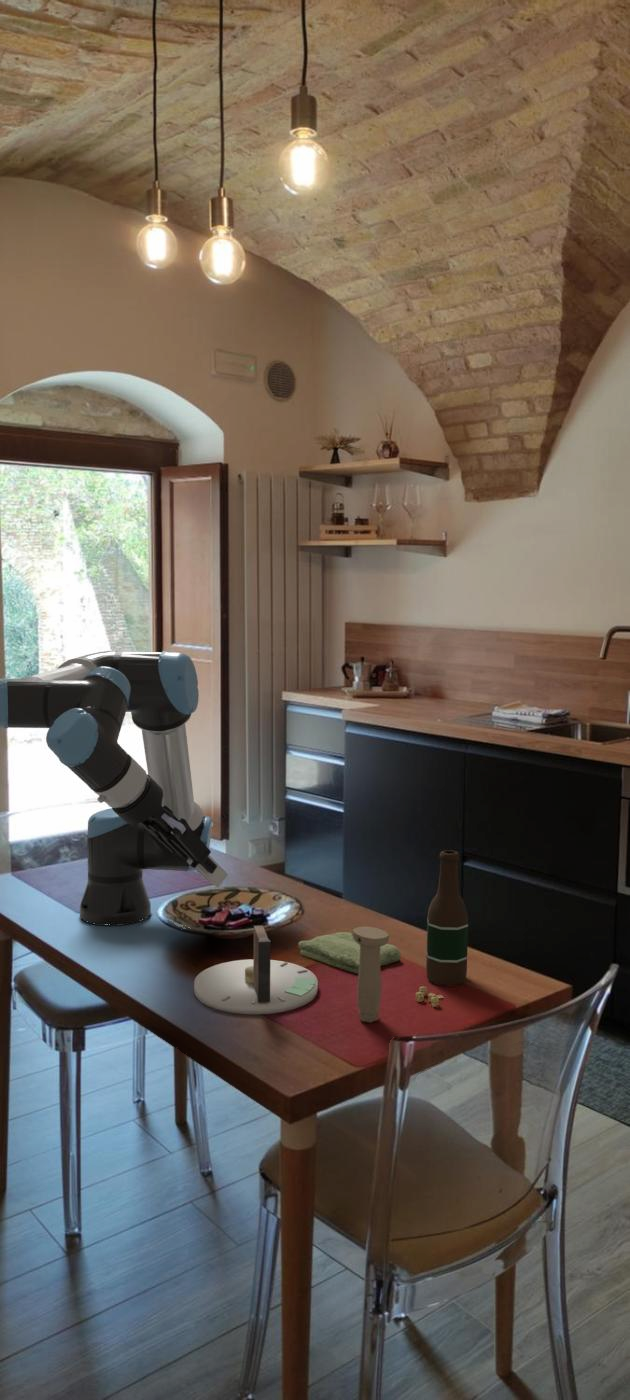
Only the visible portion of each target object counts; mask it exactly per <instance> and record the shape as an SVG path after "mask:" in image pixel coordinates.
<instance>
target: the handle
mask: <svg viewBox="0 0 630 1400" xmlns="http://www.w3.org/2000/svg"><path fill="white" fill-rule="evenodd" d="M352 934H353V938H354V940H355V941H356V942H357V943H358V944H359V945H360V962H359V974H357V975H358V976H357V1006H358V1015H359V1016H358V1017H359V1019H360V1021H361V1022H362V1023H365V1022H366V1023H370V1024H371V1023H373V1022H377V1021H378V1019H379V1013H378V1012H379V1010H380V1006H381V998H382V975H381V974H382V973H381V972H382V971H381V970H382V969H381V966H380V947H381V946H383V945H385V944H388V943H389V936H390V935H389V934H388V932H387V931H385V930H383V929H382V928H381V929H380V928H378V927H374V926H367V925H366V926H359V927H355V928H353V929H352Z"/></svg>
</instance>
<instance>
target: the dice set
mask: <svg viewBox="0 0 630 1400" xmlns="http://www.w3.org/2000/svg"><path fill="white" fill-rule="evenodd" d="M425 995H427V996H428V998H427V1001H431V1003H430V1006H431V1005H432V1006H439V1007H440V1000H439V998H444V996H443V995H441V994H439V995H436V994H435V993H433V992H429V994H428V987H426V986H420V987H419V988H418V992H415V1001H416V1000H417V1001H423V1000H424V999H425V997H424V996H425Z"/></svg>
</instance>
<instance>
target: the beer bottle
mask: <svg viewBox="0 0 630 1400" xmlns="http://www.w3.org/2000/svg"><path fill="white" fill-rule="evenodd" d="M439 859H440V866H439V867H440V868H439V879H438V888H437V891H436V894H435V896H434V897H433V898H432V899H431V901H430V904H429V906H428V910H427V911H428V912H427V918H426V919H427V921H426V922H427V923H426V954H425V955H426V957H425V958H426V959H425V960H426V962H425V966H426V969H425V970H426V977H427V981H428V982H430V981H431V982H430V983H432V982H433V983H432V984H435V983H436V984H435V985H438V984H439V985H438V986H443V985H456V986H459V985H461V984H464V983H465V982H466V981H467V973H468V946H469V945H468V942H469V914H468V910H467V908H466V907H467V906H466V904H465V901H464V900H463V899H462V896H461V895H460V886H459V884H460V883H459V880H460V879H459V860H460V859H461V858H460V854H459V852H458V851H456V850H452V849H449V850H448V849H445V850H442V851H440V853H439ZM463 982H464V983H463ZM458 984H459V985H458Z"/></svg>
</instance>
